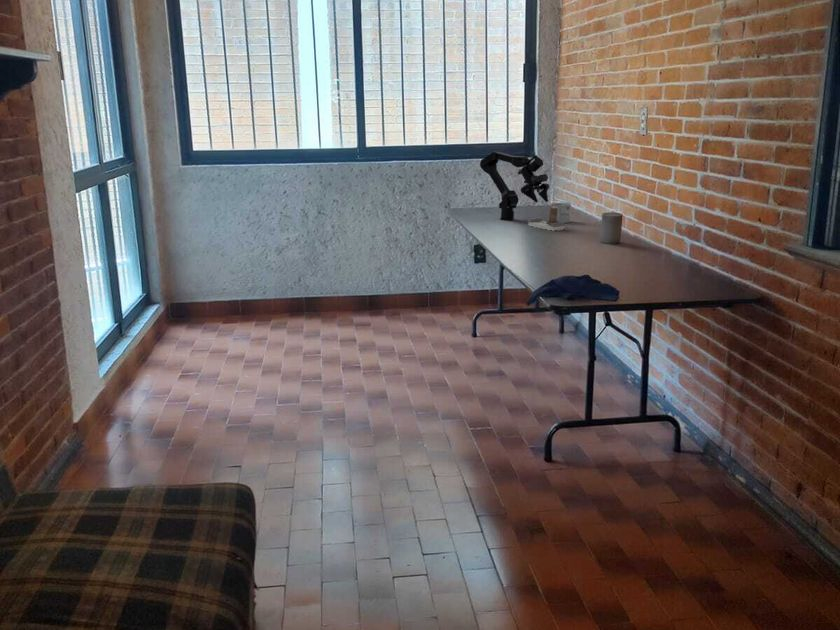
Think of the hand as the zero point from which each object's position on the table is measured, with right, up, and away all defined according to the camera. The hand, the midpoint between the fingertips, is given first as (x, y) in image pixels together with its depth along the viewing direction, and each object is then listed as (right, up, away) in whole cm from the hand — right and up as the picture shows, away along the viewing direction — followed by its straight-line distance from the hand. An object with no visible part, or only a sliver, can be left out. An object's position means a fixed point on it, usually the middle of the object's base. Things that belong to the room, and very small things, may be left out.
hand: (542, 201), depth 397 cm
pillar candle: (+27, -25, -33) cm, 49 cm away
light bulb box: (+13, -8, +20) cm, 25 cm away
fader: (+5, -12, -4) cm, 14 cm away
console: (+2, -14, 0) cm, 14 cm away
